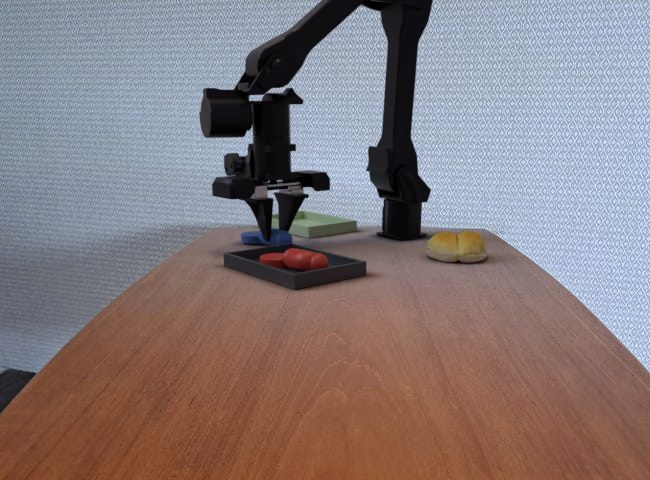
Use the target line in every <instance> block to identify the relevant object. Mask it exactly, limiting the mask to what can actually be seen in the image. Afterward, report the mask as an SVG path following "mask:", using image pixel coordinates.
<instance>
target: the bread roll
mask: <svg viewBox="0 0 650 480" xmlns="http://www.w3.org/2000/svg"><path fill="white" fill-rule="evenodd" d="M487 247H488V243H487V241H486V240H485V238H484V237H483V235H481V234H479V233H478V232H475V231H472V230H465V231H463V232H460V233H458V234H457V233H454V232H451V231H441V232H438V233H435V234H434V235H433V236H432V237H431V238H430V239H429V240H428V241H427V244H426V254H427V256H428V257H430V258H431V259H434V260H437V261H439V262H443V263H456V262H458V261H459V262H461V263H463V264H464V263H466V264H468V263H479V262H481V261H484V260H485V259H486V258H487V254H488V251H487Z"/></svg>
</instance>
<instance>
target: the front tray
mask: <svg viewBox="0 0 650 480" xmlns="http://www.w3.org/2000/svg"><path fill="white" fill-rule="evenodd" d="M290 248H296V249H301V250H306V251H311V252H316V253H321V254H323V255H325V256H326V257H327V259H328V263H329V265H328V268H323V269H317V270H312V271H306V272H304V271H300V270H295V269H291V268H288V267H285V268H275V267H272V266H269V265H265V264H262V263H260V256H261V255H264V254H270V253H285V251H286V250H288V249H290ZM222 256H223V267H225V268H229V269H232V270H235V271H237V272H241V273H244V274H246V275H250V276H253V277H255V278H259V279H261V280H265V281H267V282H270V283H274V284H277V285H280V286H283V287H285V288H289V289H291V290H299V289H300V290H301V289H304V288H309V287H310V288H311V287H314V286H319V285H320V286H321V285H325V284H329V283H334V282H339V281H340V282H341V281H344V280H349V279H354V278H360V277H363V276H367V261H366V260H362V259H358V258H354V257H350V256H346V255H342V254H339V253H335V252H330V251H326V250H322V249H318V248H316V247H311V246H306V245H302V244H298V243H295V242H292V243H286V244H280V245H273V246H271V245H267V246H261V247H255V248H246V249H240V250H235V251H228V252H223V253H222Z"/></svg>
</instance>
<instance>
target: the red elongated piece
mask: <svg viewBox="0 0 650 480" xmlns="http://www.w3.org/2000/svg"><path fill="white" fill-rule="evenodd" d="M260 263H262V264H265V265H269V266H272V267H275V268H285V267H288V268H291V269H295V270H300V271H304V272H306V271H312V270H317V269H323V268H328V265H329V263H328V259H327V257H326V256H325V255H323V254H321V253H316V252H311V251H306V250H301V249H296V248H290V249H288V250H286V251H285V253H270V254H264V255H261V256H260Z"/></svg>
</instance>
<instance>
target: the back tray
mask: <svg viewBox="0 0 650 480" xmlns="http://www.w3.org/2000/svg"><path fill="white" fill-rule="evenodd" d="M357 225H358V220H357V219H353V218H352V219H350V218H346V217H342V216H336V215H330V214H325V213H324V214H323V213H319V212H314V211H309V210H298V212H297V214H296V216H295V218H294V220H293V223H292V225H291V227H290V230H289V233H290V234H291V235H294V236H300V237H303V238H308V239H310V238H311V239H312V238H319V237H325V236H332V235H338V234H346V233H352V232H357V230H358V229H357V228H358V226H357ZM272 228H276V229H279V214H278V213H272Z"/></svg>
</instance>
